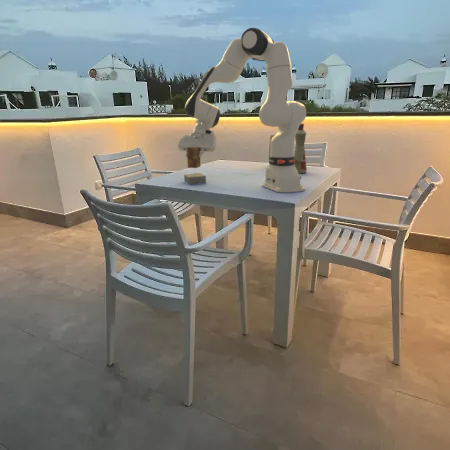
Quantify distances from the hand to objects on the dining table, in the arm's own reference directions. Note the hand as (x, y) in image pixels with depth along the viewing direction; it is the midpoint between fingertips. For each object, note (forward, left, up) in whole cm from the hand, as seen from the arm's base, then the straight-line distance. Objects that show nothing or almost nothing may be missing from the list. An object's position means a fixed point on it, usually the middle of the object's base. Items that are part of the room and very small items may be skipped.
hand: (193, 156), depth 169 cm
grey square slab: (0, 0, -14) cm, 14 cm away
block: (+32, -58, -14) cm, 68 cm away
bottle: (+8, -62, -14) cm, 64 cm away
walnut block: (+1, 0, -5) cm, 5 cm away
